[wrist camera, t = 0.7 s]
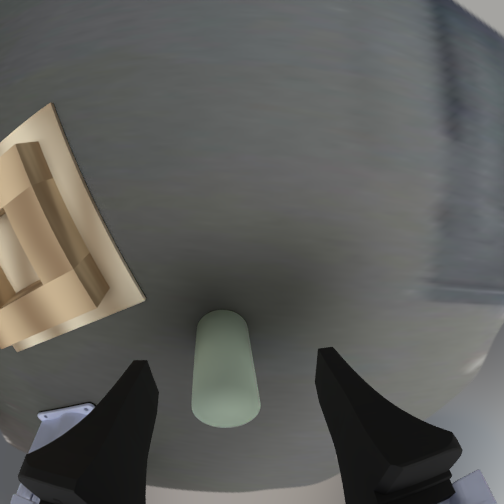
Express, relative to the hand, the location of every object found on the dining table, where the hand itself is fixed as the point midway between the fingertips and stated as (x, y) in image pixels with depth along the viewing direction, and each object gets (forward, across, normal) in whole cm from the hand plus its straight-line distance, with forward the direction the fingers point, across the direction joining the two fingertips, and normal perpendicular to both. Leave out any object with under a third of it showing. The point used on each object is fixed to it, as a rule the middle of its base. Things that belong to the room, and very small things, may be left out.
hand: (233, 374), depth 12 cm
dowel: (+10, +1, +6) cm, 12 cm away
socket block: (+10, +17, -3) cm, 20 cm away
